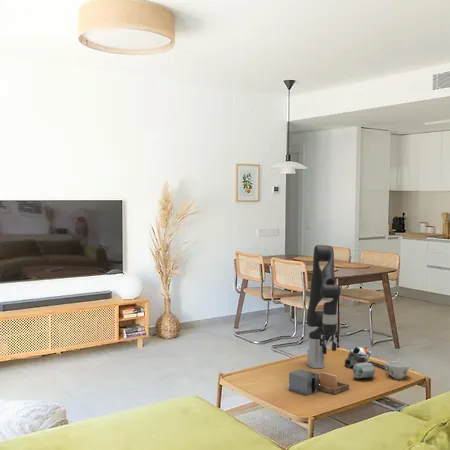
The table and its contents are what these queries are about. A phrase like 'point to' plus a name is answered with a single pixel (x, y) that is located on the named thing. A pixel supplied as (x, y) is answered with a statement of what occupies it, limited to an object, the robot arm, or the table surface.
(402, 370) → the teacup
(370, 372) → the grey rounded cylinder
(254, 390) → the table surface
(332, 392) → the tray
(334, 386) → the orange tan rectangular slab
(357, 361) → the lucky cat figurine
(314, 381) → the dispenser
